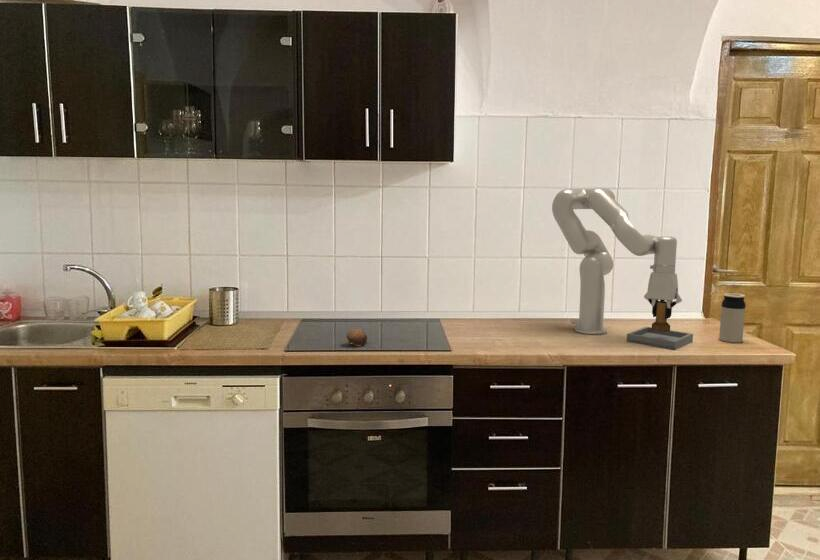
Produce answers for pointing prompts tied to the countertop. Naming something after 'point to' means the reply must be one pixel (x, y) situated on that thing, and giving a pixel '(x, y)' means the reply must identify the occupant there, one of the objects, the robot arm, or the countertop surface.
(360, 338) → the mushroom
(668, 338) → the tray
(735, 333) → the travel mug
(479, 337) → the countertop surface
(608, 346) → the countertop surface
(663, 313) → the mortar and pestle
